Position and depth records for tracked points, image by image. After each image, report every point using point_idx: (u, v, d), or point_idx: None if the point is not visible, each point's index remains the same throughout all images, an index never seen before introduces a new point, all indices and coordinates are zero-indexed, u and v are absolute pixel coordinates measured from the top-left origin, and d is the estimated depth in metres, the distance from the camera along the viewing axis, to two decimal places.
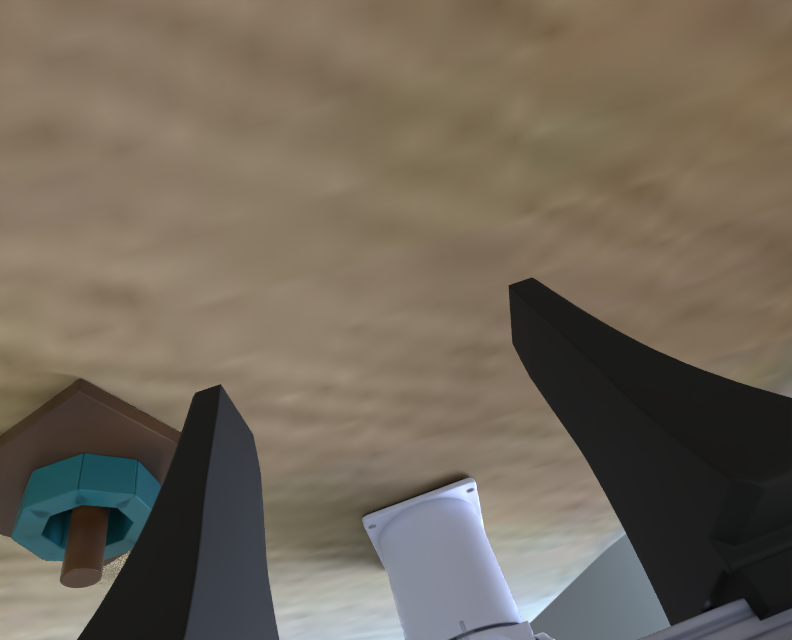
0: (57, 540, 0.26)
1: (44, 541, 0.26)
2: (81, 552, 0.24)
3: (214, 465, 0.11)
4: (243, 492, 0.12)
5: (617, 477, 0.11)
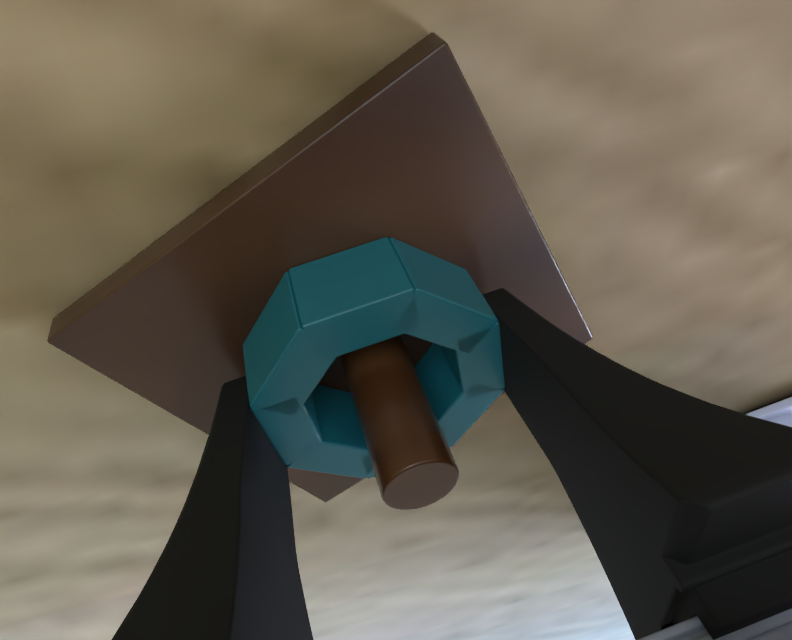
0: (317, 425, 0.13)
1: (303, 421, 0.12)
2: (418, 429, 0.11)
3: (247, 453, 0.11)
4: (273, 481, 0.12)
5: (582, 490, 0.11)
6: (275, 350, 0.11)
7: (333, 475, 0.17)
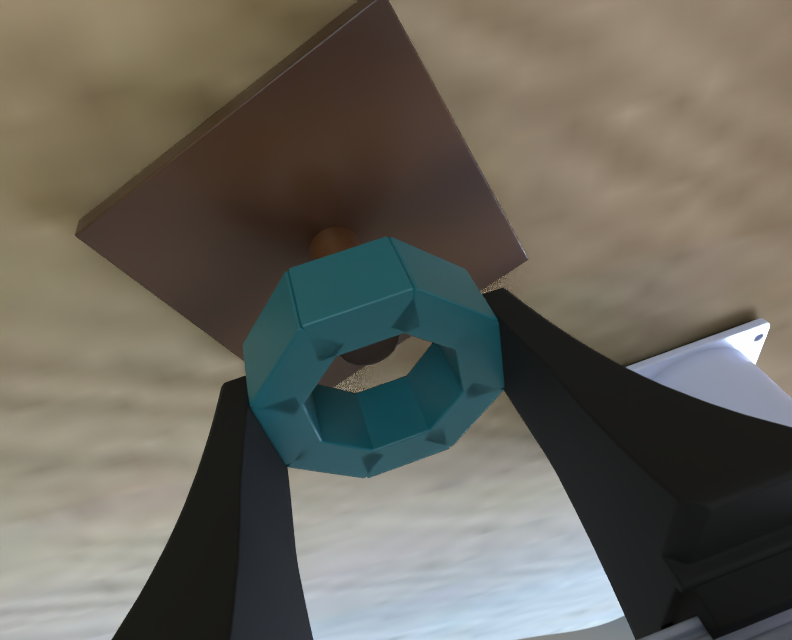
0: (317, 424, 0.13)
1: (303, 421, 0.12)
2: None
3: (247, 453, 0.11)
4: (273, 481, 0.12)
5: (582, 490, 0.11)
6: (275, 350, 0.11)
7: None
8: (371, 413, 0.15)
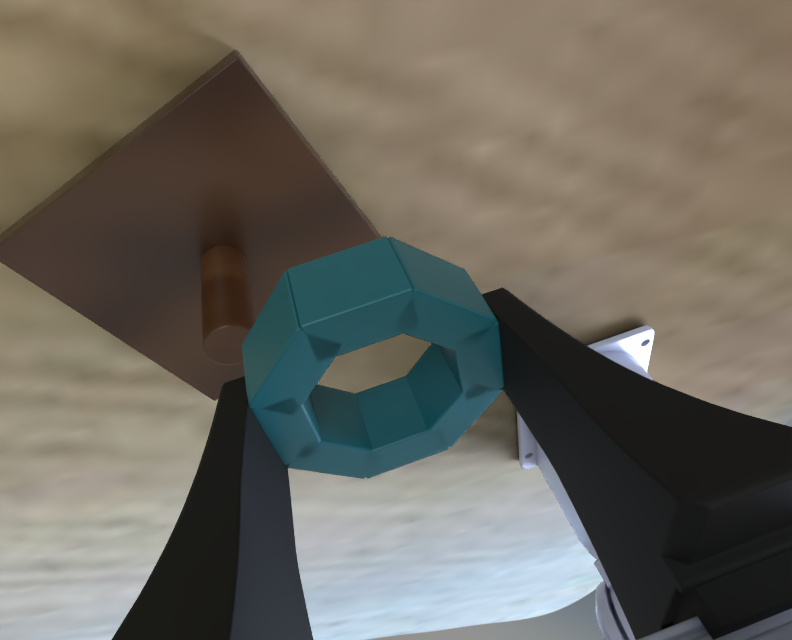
0: (316, 425, 0.13)
1: (302, 421, 0.12)
2: (230, 310, 0.17)
3: (247, 453, 0.11)
4: (273, 481, 0.12)
5: (582, 490, 0.11)
6: (274, 350, 0.11)
7: (216, 377, 0.23)
8: (370, 413, 0.15)
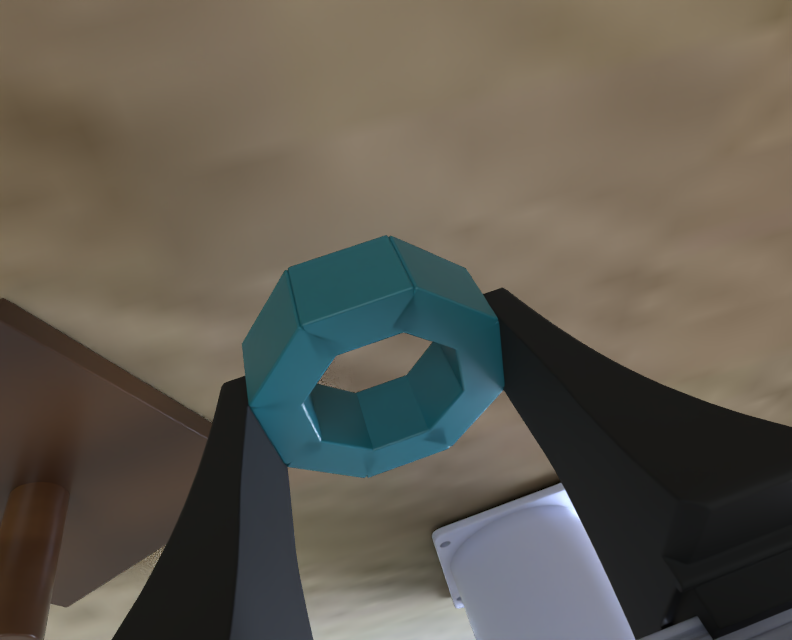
0: (316, 424, 0.13)
1: (302, 420, 0.12)
2: (6, 604, 0.14)
3: (247, 453, 0.11)
4: (273, 481, 0.12)
5: (582, 490, 0.11)
6: (274, 349, 0.11)
7: (62, 589, 0.20)
8: (371, 413, 0.15)
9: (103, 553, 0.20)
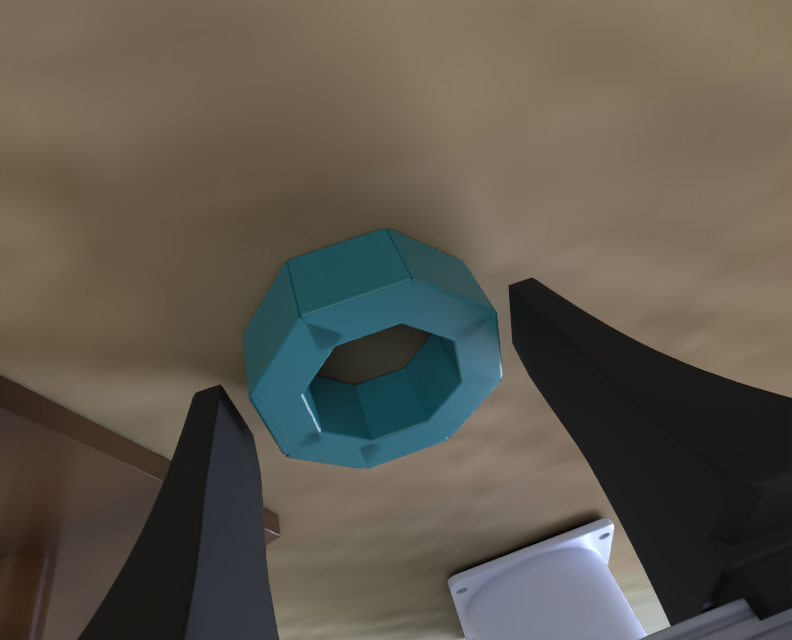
0: (316, 415, 0.13)
1: (302, 411, 0.13)
2: None
3: (214, 465, 0.11)
4: (243, 492, 0.12)
5: (617, 477, 0.11)
6: (274, 340, 0.11)
7: None
8: (370, 405, 0.15)
9: None
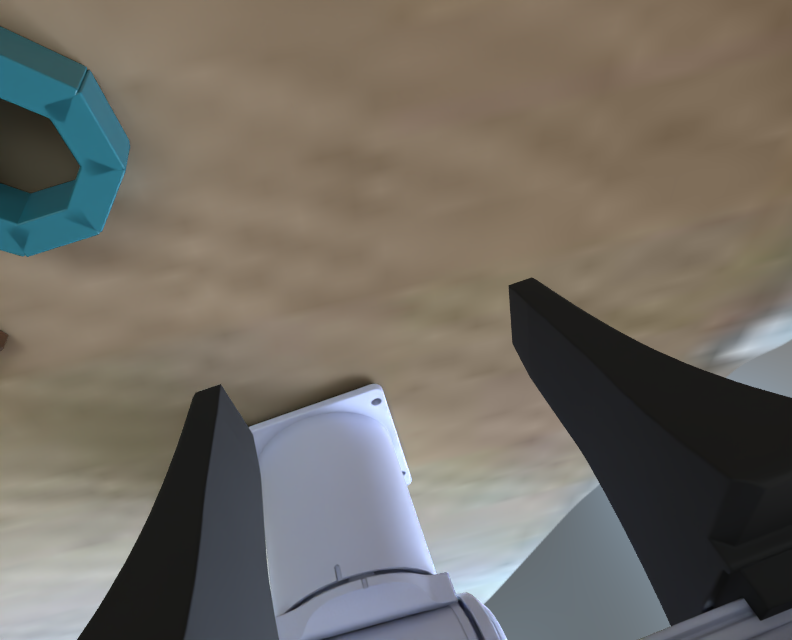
0: None
1: None
2: None
3: (214, 465, 0.11)
4: (243, 492, 0.12)
5: (617, 477, 0.11)
6: None
7: None
8: (32, 203, 0.17)
9: None
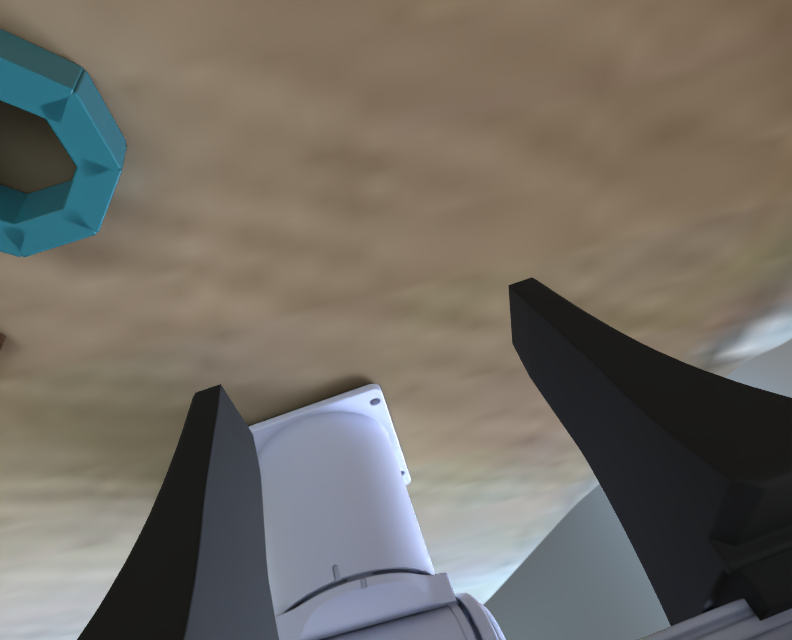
0: None
1: None
2: None
3: (214, 465, 0.11)
4: (243, 492, 0.12)
5: (617, 477, 0.11)
6: None
7: None
8: (28, 203, 0.17)
9: None
